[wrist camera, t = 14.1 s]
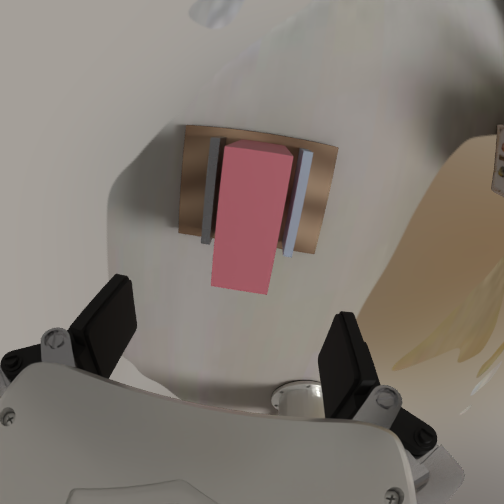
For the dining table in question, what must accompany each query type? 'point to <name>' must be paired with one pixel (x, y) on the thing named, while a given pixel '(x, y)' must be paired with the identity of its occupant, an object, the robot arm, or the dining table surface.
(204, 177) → the shelf board
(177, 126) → the dining table surface
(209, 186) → the bookend
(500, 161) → the decorative jar
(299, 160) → the divider
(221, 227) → the red block
